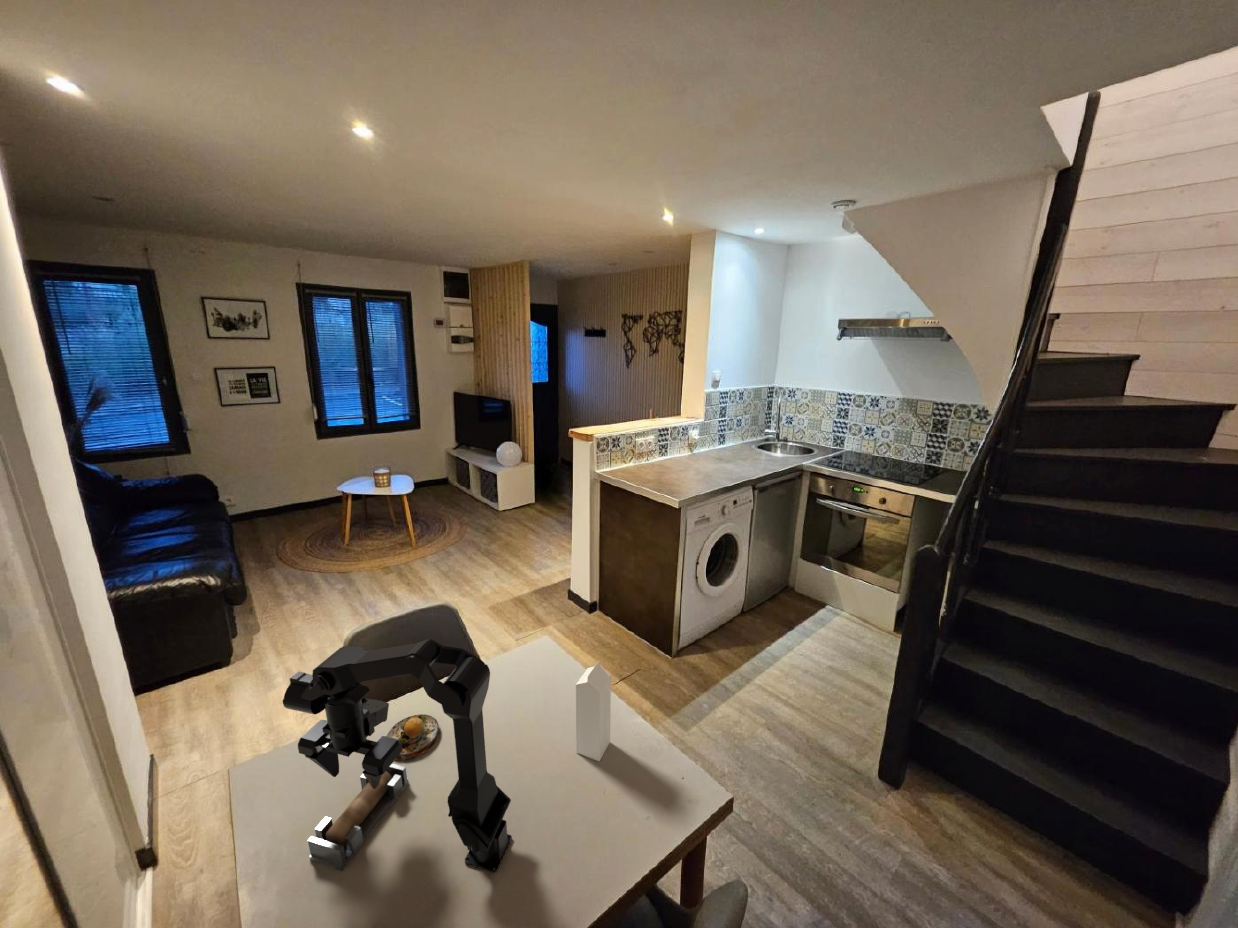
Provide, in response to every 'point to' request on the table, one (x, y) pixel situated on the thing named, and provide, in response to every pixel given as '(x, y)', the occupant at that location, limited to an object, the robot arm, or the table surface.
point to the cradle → (342, 855)
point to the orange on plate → (415, 735)
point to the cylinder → (357, 810)
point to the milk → (593, 712)
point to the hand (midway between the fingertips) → (356, 780)
